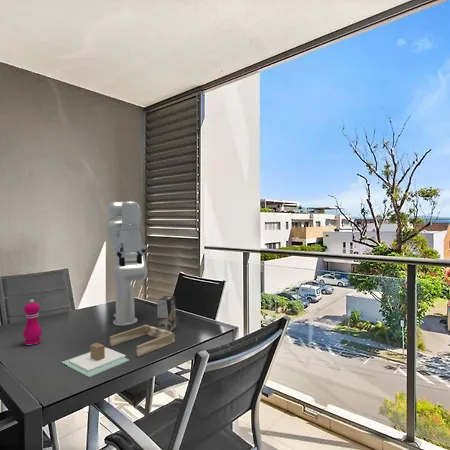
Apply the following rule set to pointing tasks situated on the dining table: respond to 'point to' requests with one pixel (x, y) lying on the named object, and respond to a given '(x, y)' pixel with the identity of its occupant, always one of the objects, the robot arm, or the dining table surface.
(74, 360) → the cover plate
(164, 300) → the coffee box
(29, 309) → the pepper mill
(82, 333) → the dining table surface
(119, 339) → the open-sided wooden frame
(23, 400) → the dining table surface
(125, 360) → the sage mat
